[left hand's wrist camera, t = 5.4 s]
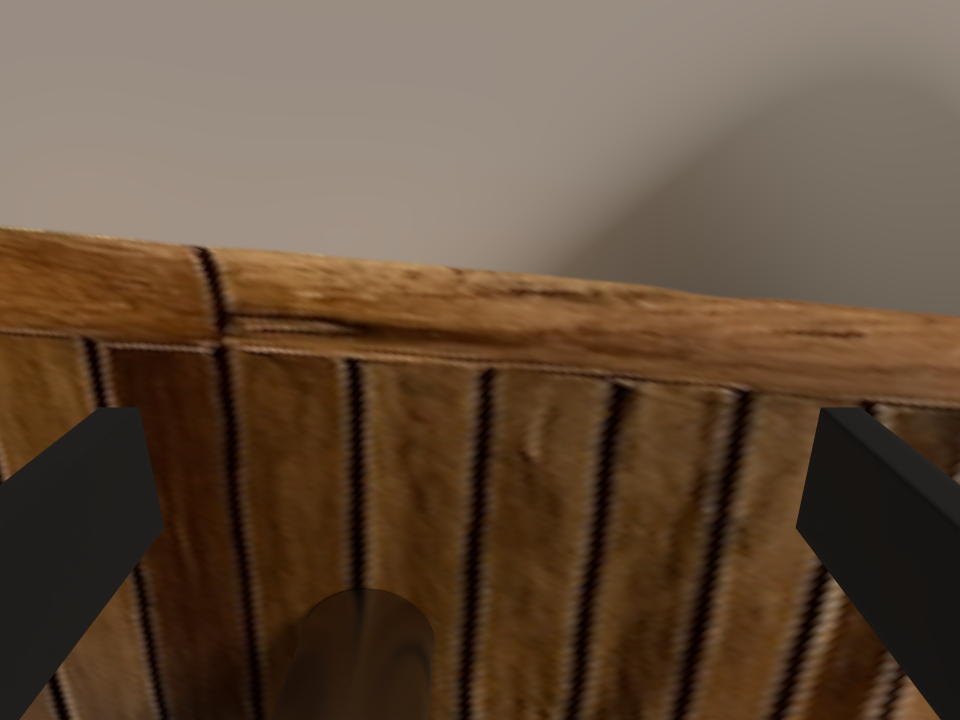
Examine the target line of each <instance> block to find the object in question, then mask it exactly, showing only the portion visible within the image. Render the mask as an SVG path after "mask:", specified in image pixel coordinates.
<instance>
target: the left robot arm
mask: <svg viewBox="0 0 960 720" xmlns="http://www.w3.org/2000/svg"><path fill="white" fill-rule="evenodd" d="M163 529H164V524H163V519H162V514H161V510H160V505H159V500H158V495H157V491H156V486H155V481H154V476H153V472H152V467H151V462H150V457H149V452H148V448H147V443H146V438H145V433H144V429H143V424H142V419H141V414H140V410H139V408H98V409H97V410H96V411H94V412H93V413H92V414H90V415H89V416H88V417H87V418H85V419H84V420H83V421H82V422H80V423H79V424H78V425H76V426H75V427H74V428H73V429H71V430H70V431H69V432H67V433H66V434H65V435H64V436H62V437H61V438H60V439H58V440H57V441H56V442H55V443H53V444H52V445H51V446H50V447H48V448H47V449H46V450H44V451H43V452H42V453H41V454H39V455H38V456H37V457H35V458H34V459H33V460H32V461H30V462H29V463H28V464H26V465H25V466H24V467H23V468H21V469H20V470H19V471H18V472H16V473H15V474H14V475H12V476H11V477H10V478H9V479H7V480H6V481H5V482H3V483H2V484H1V485H0V720H19V719H20V718H21V717H22V715H23V714H24V713H25V711H26V710H27V709H28V707H29V706H30V705H31V703H32V702H33V701H34V699H35V698H36V697H37V696H38V694H39V693H40V692H41V690H42V689H43V688H44V686H45V685H46V684H47V682H48V681H49V680H50V678H51V677H52V676H53V674H54V673H55V672H56V670H57V669H58V668H59V666H60V665H61V664H62V662H63V661H64V660H65V658H66V657H67V656H68V655H69V653H70V652H71V651H72V649H73V648H74V647H75V645H76V644H77V643H78V641H79V640H80V639H81V637H82V636H83V635H84V633H85V632H86V631H87V629H88V628H89V627H90V625H91V624H92V623H93V621H94V620H95V619H96V617H97V616H98V615H99V614H100V612H101V611H102V610H103V608H104V607H105V606H106V604H107V603H108V602H109V600H110V599H111V598H112V596H113V595H114V594H115V592H116V591H117V590H118V588H119V587H120V586H121V584H122V583H123V582H124V580H125V579H126V578H127V576H128V575H129V574H130V573H131V571H132V570H133V569H134V567H135V566H136V565H137V563H138V562H139V561H140V559H141V558H142V557H143V555H144V554H145V553H146V551H147V550H148V549H149V547H150V546H151V545H152V543H153V542H154V541H155V539H156V538H157V537H158V535H159V534H160V533H161V531H162V530H163ZM796 529H797V530H798V532H799V533H800V534H801V535H802V537H803V538H804V539H805V541H806V542H807V543H808V545H809V546H810V547H811V549H812V550H813V551H814V553H815V554H816V555H817V557H818V558H819V559H820V561H821V562H822V563H823V565H824V566H825V567H826V569H827V570H828V571H829V573H830V574H831V575H832V576H833V578H834V579H835V580H836V582H837V583H838V584H839V586H840V587H841V588H842V590H843V591H844V592H845V594H846V595H847V596H848V598H849V599H850V600H851V602H852V603H853V604H854V606H855V607H856V608H857V610H858V611H859V612H860V614H861V615H862V616H863V617H864V619H865V620H866V621H867V623H868V624H869V625H870V627H871V628H872V629H873V631H874V632H875V633H876V635H877V636H878V637H879V639H880V640H881V641H882V643H883V644H884V645H885V647H886V648H887V649H888V651H889V652H890V653H891V655H892V656H893V657H894V658H895V660H896V661H897V662H898V664H899V665H900V666H901V668H902V669H903V670H904V672H905V673H906V674H907V676H908V677H909V678H910V680H911V681H912V682H913V684H914V685H915V686H916V688H917V689H918V690H919V692H920V693H921V694H922V696H923V697H924V698H925V699H926V701H927V702H928V703H929V705H930V706H931V707H932V709H933V710H934V711H935V713H936V714H937V715H938V717H939V718H940V719H941V720H960V485H959V484H958V483H957V482H955V481H954V480H953V479H951V478H950V477H949V476H948V475H946V474H945V473H944V472H942V471H941V470H940V469H939V468H937V467H936V466H935V465H934V464H932V463H931V462H930V461H928V460H927V459H926V458H925V457H923V456H922V455H921V454H919V453H918V452H917V451H916V450H914V449H913V448H912V447H910V446H909V445H908V444H907V443H905V442H904V441H903V440H902V439H900V438H899V437H898V436H896V435H895V434H894V433H893V432H891V431H890V430H889V429H887V428H886V427H885V426H884V425H882V424H881V423H880V422H878V421H877V420H876V419H875V418H873V417H872V416H871V415H870V414H868V413H867V412H866V411H864V410H863V409H862V408H821V410H820V414H819V419H818V424H817V429H816V433H815V438H814V443H813V448H812V452H811V457H810V462H809V467H808V472H807V476H806V481H805V486H804V491H803V495H802V500H801V505H800V510H799V514H798V519H797V524H796Z"/></svg>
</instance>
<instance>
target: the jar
mask: <svg viewBox="0 0 960 720" xmlns="http://www.w3.org/2000/svg"><path fill="white" fill-rule="evenodd" d="M433 653H434V636H433V632H432V629H431V626H430V624H429V622H428V620H427V619H426V618H425V616H424V615H423V614H422V612H421V611H420V610H419V609H418V608H417V607H415V606H414V605H413V604H412V603H410V602H409V601H407V600H406V599H404V598H402V597H400V596H398V595H395V594H392V593H389V592H386V591H382V590H375V589H353V590H348V591H344V592H340V593H337V594H335V595H333V596H330V597H329V598H327V599H325V600H324V601H322V602H321V603H320V604H318V605H317V606H316V607H315V608H314V609H313V610H312V612H311V613H310V615H309V616H308V618H307V620H306V622H305V625H304V627H303V630H302V633H301V636H300V639H299V642H298V645H297V648H296V651H295V654H294V657H293V660H292V663H291V666H290V668H289V671H288V674H287V677H286V680H285V683H284V686H283V689H282V692H281V695H280V698H279V701H278V704H277V707H276V709H275V712H274V715H273V718H272V720H428V712H429V700H430V688H431V677H432V665H433Z"/></svg>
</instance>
